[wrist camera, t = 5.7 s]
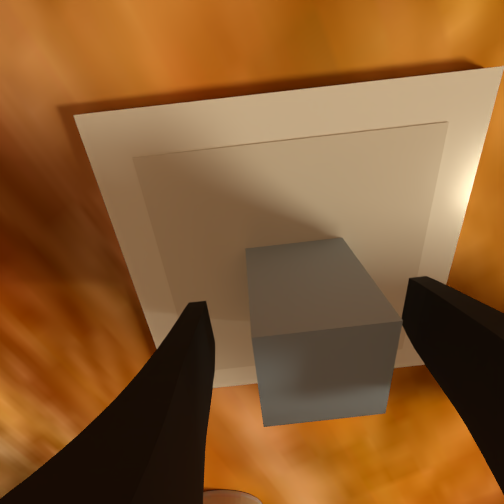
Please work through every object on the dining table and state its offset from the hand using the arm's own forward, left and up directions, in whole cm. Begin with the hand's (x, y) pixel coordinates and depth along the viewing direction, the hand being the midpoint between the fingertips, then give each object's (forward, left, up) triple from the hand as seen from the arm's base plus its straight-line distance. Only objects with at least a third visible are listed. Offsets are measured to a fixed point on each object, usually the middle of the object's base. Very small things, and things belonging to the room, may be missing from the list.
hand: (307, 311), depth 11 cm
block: (0, 0, -2) cm, 3 cm away
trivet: (0, 0, -3) cm, 3 cm away
